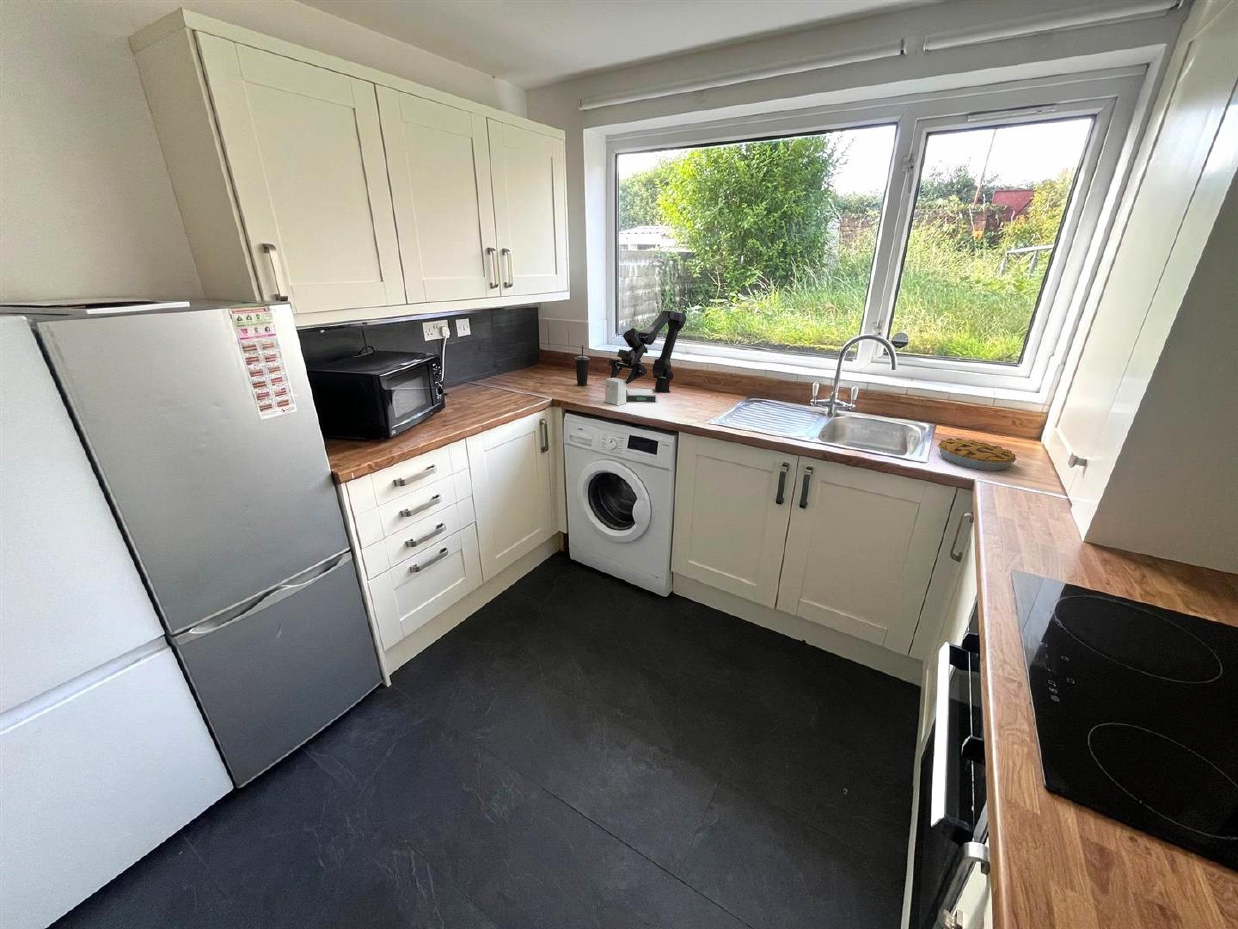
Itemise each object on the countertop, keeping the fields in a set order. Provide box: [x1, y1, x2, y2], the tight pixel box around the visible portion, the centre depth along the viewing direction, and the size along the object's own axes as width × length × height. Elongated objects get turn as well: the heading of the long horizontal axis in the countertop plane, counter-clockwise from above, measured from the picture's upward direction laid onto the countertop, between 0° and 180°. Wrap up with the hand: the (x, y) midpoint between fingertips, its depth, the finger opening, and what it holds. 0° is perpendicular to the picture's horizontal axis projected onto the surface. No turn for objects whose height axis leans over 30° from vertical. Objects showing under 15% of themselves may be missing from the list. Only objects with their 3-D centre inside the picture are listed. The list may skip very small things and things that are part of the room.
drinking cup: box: [574, 344, 591, 387], centre depth 251 cm, size 8×8×20 cm
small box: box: [604, 377, 627, 406], centre depth 221 cm, size 8×6×10 cm
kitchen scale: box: [626, 388, 657, 403], centre depth 232 cm, size 13×13×3 cm
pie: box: [937, 437, 1017, 472], centre depth 166 cm, size 22×22×5 cm
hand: (618, 381), depth 221 cm, fingers open, 9 cm apart
